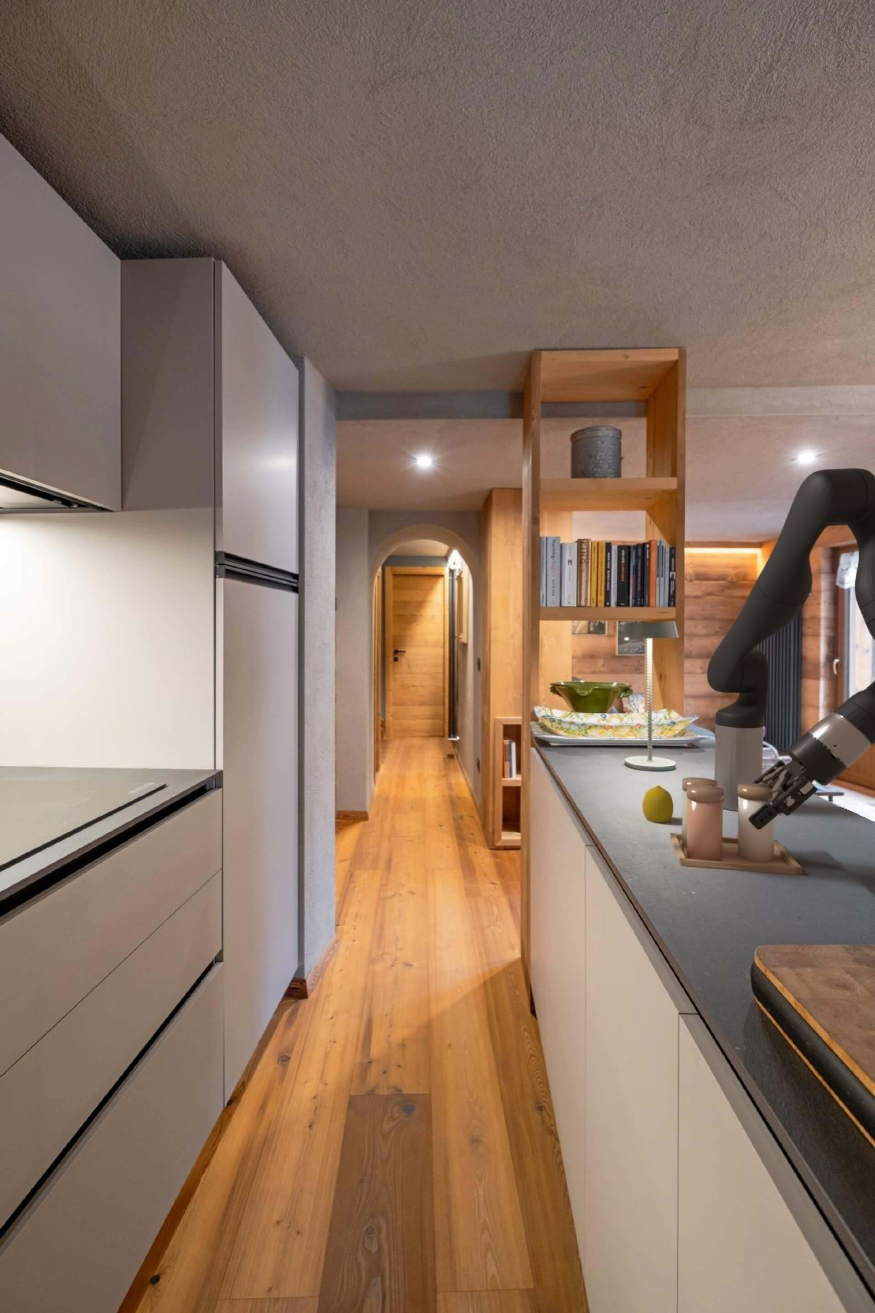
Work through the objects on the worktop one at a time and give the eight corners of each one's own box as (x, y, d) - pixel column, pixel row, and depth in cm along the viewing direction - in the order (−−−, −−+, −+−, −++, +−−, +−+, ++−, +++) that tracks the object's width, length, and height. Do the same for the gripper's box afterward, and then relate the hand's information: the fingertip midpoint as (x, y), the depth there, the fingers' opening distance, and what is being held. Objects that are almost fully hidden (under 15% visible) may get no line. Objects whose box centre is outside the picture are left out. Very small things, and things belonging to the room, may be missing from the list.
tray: (669, 846, 116) (670, 833, 116) (776, 853, 113) (777, 840, 113) (680, 875, 103) (680, 860, 103) (802, 884, 99) (803, 869, 99)
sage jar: (679, 841, 115) (680, 776, 114) (712, 843, 113) (714, 778, 113) (683, 851, 109) (684, 783, 109) (719, 853, 108) (720, 785, 108)
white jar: (733, 849, 110) (734, 782, 110) (769, 851, 109) (770, 784, 109) (741, 860, 105) (741, 790, 104) (779, 862, 104) (779, 791, 103)
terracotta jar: (683, 851, 109) (684, 784, 109) (719, 853, 108) (720, 785, 108) (688, 862, 104) (689, 791, 103) (725, 865, 103) (727, 793, 102)
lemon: (675, 833, 124) (675, 789, 124) (643, 831, 125) (644, 788, 125) (670, 824, 130) (671, 783, 129) (640, 822, 131) (641, 781, 130)
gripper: (796, 724, 111) (720, 789, 114) (825, 738, 98) (738, 811, 100) (830, 757, 110) (753, 822, 113) (865, 776, 97) (776, 849, 100)
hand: (746, 817), depth 107 cm, fingers open, 8 cm apart
